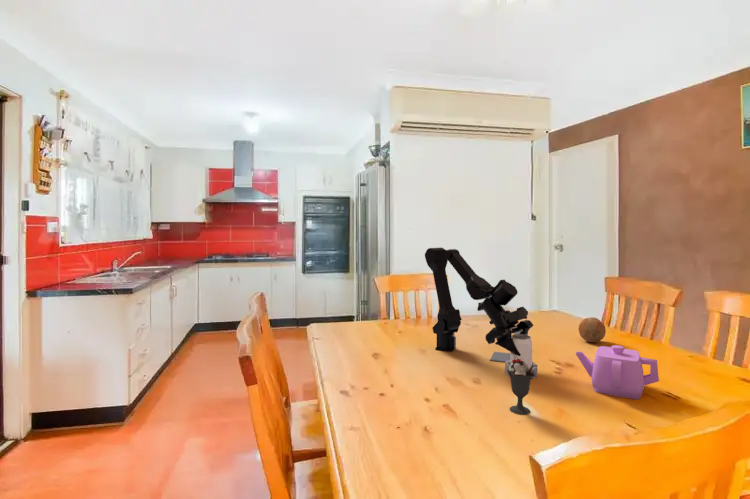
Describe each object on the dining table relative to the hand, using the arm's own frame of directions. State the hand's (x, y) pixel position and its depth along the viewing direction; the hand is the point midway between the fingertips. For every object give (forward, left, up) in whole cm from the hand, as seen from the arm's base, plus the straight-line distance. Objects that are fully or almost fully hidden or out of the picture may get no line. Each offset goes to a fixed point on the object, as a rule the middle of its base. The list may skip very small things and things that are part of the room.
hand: (525, 353), depth 130 cm
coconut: (+22, +50, -7) cm, 55 cm away
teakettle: (+25, 0, -7) cm, 26 cm away
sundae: (+1, -27, -7) cm, 28 cm away
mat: (-7, +15, -7) cm, 18 cm away
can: (-1, +1, -7) cm, 7 cm away
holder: (-1, +1, -7) cm, 7 cm away
